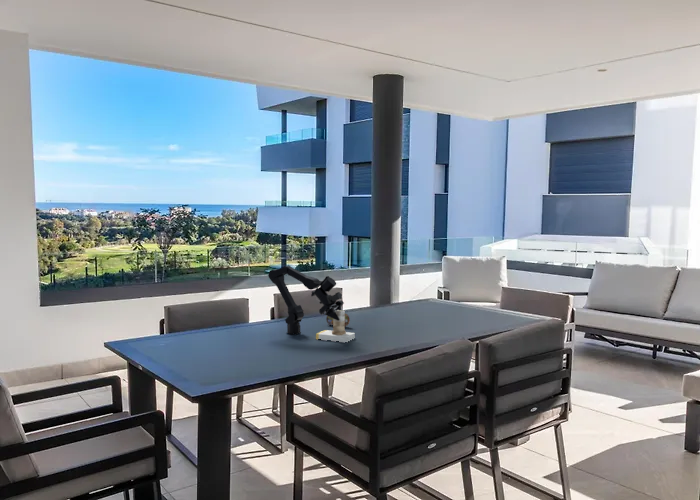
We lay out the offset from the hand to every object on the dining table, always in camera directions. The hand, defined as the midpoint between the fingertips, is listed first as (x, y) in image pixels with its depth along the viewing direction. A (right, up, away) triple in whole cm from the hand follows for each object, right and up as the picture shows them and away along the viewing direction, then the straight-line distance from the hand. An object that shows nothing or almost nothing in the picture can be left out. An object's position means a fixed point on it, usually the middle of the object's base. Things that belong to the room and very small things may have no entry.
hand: (341, 319), depth 288 cm
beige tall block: (-1, -8, +1) cm, 8 cm away
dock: (-3, -11, +2) cm, 11 cm away
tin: (-3, -9, +37) cm, 38 cm away
